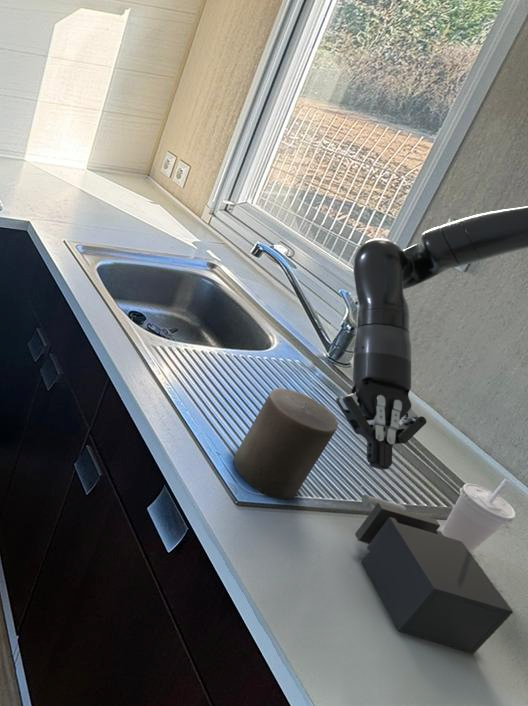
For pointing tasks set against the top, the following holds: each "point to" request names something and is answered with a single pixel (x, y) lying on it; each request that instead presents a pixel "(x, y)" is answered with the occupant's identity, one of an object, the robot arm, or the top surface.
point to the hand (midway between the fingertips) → (379, 468)
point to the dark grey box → (434, 588)
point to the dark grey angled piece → (385, 514)
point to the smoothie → (478, 515)
